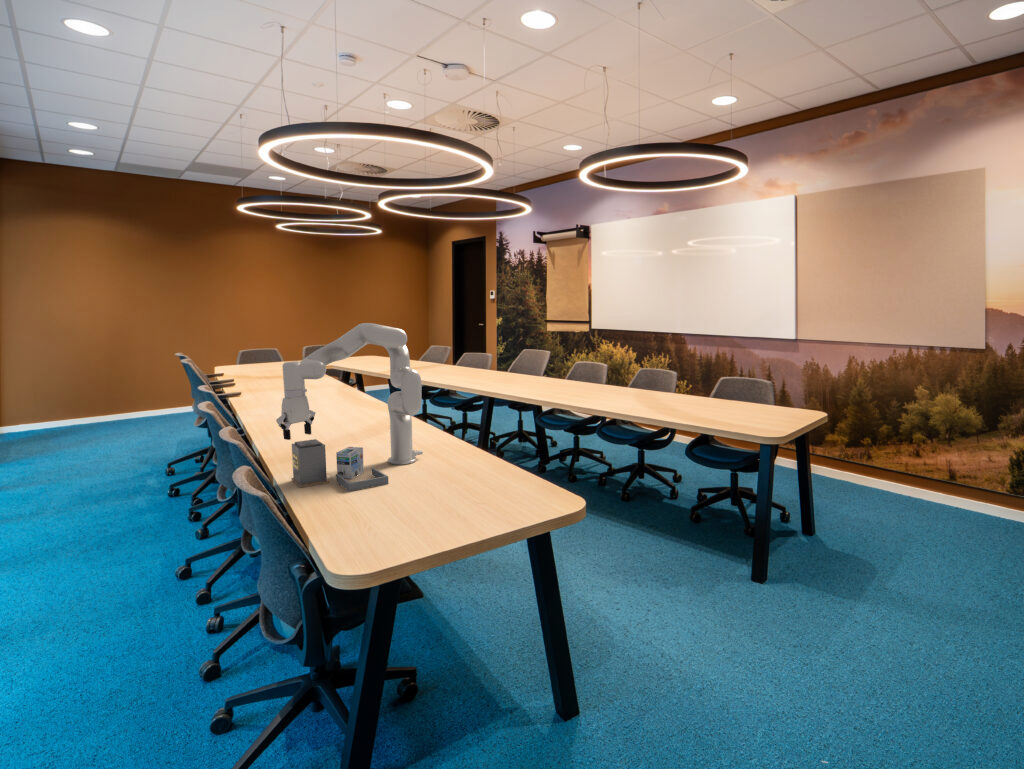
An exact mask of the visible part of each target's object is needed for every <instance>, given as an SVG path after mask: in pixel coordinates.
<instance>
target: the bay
mask: <svg viewBox="0 0 1024 769" xmlns="http://www.w3.org/2000/svg"><path fill="white" fill-rule="evenodd" d="M371 476H372V478H369V479H363V480H357V481H352V482H349V480H348V479H344V478H343V477H341V476H340V475H339V474H337V473H336V474H335V482H336V483H337V482H338V483H339V485H340V486H341V485H342V486H343V487H342V486H341V487H342V488H344V489H345V488H346V489H347V490H346V489H345V490H346V491H347V492H353V491H352V490H354V491H358V489H359V490H363V489H362V488H364V489H368V488H367V487H370V488H373V487H372V486H375V487H378V485H380V486H384V485H383V484H385V485H388V484H389V476H388V475H387V474H385V473H384V472H382V471H380V470H378V469H377V468H375V467H371ZM374 476H375V477H374ZM373 477H374V478H373ZM338 483H337V484H338Z"/></svg>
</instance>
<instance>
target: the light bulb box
mask: <svg viewBox="0 0 1024 769" xmlns="http://www.w3.org/2000/svg"><path fill="white" fill-rule="evenodd" d="M335 455H336V474H339V475H340V476H341V477H343V478H348V479H347V480H353V479H354V477H355V478H356V477H358V476H360V475H362V474H363V473H364V470H365V469H364V448H363V447H361V446H360V447H359V446H347V447H346V448H343V449H341V450H339V451H337V452H336V454H335ZM362 472H363V473H362ZM359 474H360V475H359ZM357 475H358V476H357ZM352 478H353V479H352Z"/></svg>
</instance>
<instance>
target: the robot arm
mask: <svg viewBox="0 0 1024 769" xmlns="http://www.w3.org/2000/svg"><path fill="white" fill-rule="evenodd" d="M407 342H408V335H407V333H406V332H405V330H403V329H402V328H398V327H393V326H389V325H388V326H387V325H383V324H377V323H374V322H364V323H363V322H362V323H359V324H357V325H356V326H354V327H352V328H351V329H350V330H349V331H347V332H346V333H344V334H343V335H342V336H340V337H338V338H336V339H335V340H333V341H332V342H329V343H328V344H326V345H323V346H322V347H320V348H318V349H316V350H314V351H313V352H311V353H309V354H308V355H307V356H306V357H304V358H302V359H301V360H300V361H286V362H283V364H282V378H283V379H282V381H283V393H284V397H282V400H281V413H280V414H281V415H280V416H279V417H278V418H277V419H276V420H275V421H276V423H277V424H278V427H279V428H281V430H282V432H283V434H282V435H283V436H282V437H283V439H284V440H288V441H290V440H292V439H291V429H290V427H291V426H292V425H293V424H299V423H302V422H303V423H304V424H303V427H304V428H303V431H304V434H305V435H312V424H313V422H314V420H315V416H316V412H315V411H313V410H311V409H310V405H309V404H310V403H309V400H308V396H307V395H306V393H307V392H308V390H307V388H306V384H305V380H320V379H322V378H324V377H325V375H326V372H327V367H326V366H327V365H330V364H332V363H335V362H340V361H342V360H345V359H347V358H350V357H351V356H352V355H354V354H355V353H357V352H358V351H360V349H362V348H364V347H365V346H367V345H376V346H381V347H382V348H385V350H386V351H387V353H388V356H389V367H390V368H389V369H390V370H389V371H390V373H389V377H390V379H389V380H390V384H391V386H392V387H394V388H396V389H400V390H399V391H398V390H397V391H394V392H392V393H391V394H390V395H389V396H388V399H387V409H388V410H387V411H388V413H389V414H388V415H389V424H390V425H389V429H390V431H389V433H390V457H388V458H387V463H388V464H391V465H409V464H413V463H415V462H416V461H417V456H420V455H423V454H424V452H423V450H422V449H420V450H414V449H413V420H412V416H415V415H416V414H418V413H419V412H420V410H421V408H422V398H423V397H422V377H421V375H420V373H419V372H418V371H417V370H416V369H414V368H411V361H410V352H409V349H408V347H407Z"/></svg>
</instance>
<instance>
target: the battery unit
mask: <svg viewBox="0 0 1024 769" xmlns="http://www.w3.org/2000/svg"><path fill="white" fill-rule="evenodd" d="M326 455H327V454H326V444H324V443H323V442H321V441H319V440H317V439H316V438H314V439H306V440H300V441H294V443H291V458H292V476H293V477H290V478H291V481H292V482H293V483H294V485H296V486H297V487H298V488H299V489H302V488H308V486H309V487H314V486H318V485H324V483H325V484H329V483H330V480H329V479H328V477H327V474H328V473H327V459H326V458H327V457H326Z"/></svg>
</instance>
